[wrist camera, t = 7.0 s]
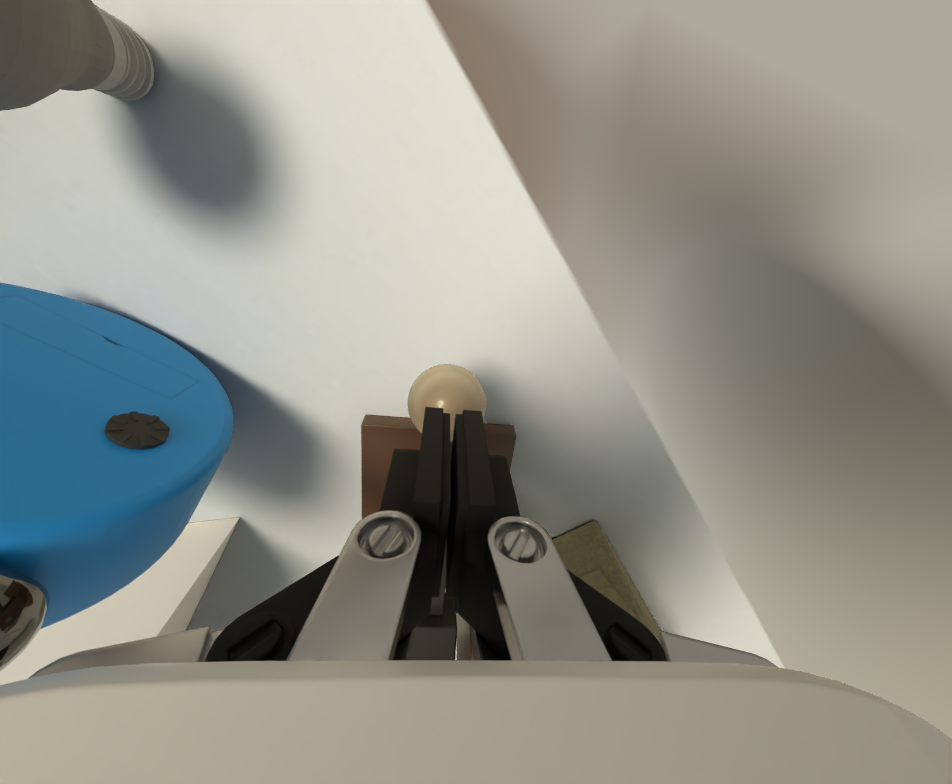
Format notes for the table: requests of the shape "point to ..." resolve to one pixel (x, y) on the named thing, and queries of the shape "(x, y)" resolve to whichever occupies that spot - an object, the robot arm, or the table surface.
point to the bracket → (401, 433)
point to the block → (135, 603)
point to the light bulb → (68, 52)
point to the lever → (454, 395)
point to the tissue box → (602, 570)
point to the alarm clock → (93, 455)
